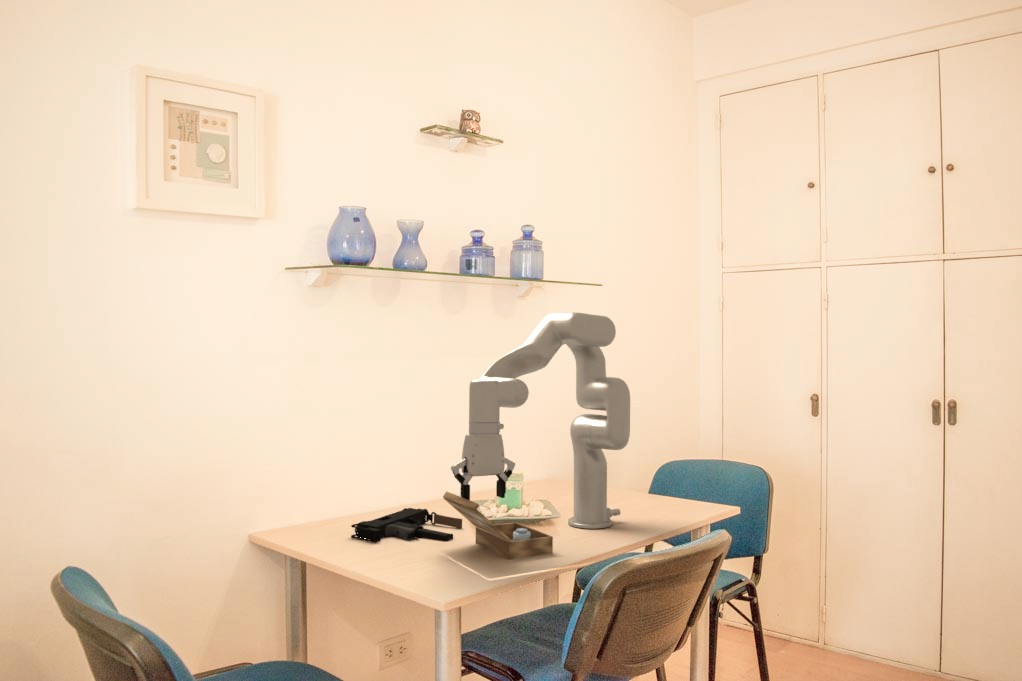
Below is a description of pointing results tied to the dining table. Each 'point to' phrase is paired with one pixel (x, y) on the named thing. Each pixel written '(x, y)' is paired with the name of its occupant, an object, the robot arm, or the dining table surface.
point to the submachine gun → (405, 526)
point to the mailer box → (515, 542)
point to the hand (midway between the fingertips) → (483, 498)
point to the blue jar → (521, 534)
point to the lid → (473, 514)
